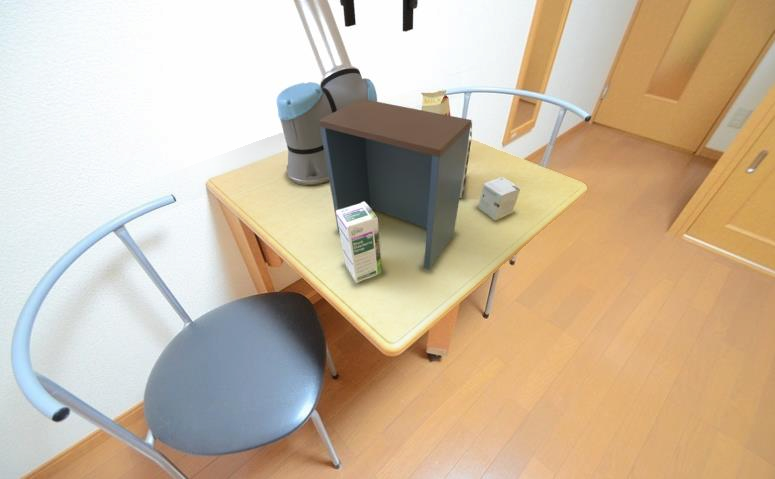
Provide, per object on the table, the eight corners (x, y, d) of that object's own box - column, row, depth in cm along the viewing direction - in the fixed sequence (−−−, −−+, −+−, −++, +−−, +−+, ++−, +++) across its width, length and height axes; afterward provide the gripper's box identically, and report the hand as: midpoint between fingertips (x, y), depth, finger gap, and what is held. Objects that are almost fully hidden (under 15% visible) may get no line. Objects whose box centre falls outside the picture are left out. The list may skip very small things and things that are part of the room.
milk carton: (451, 153, 100) (459, 86, 87) (438, 165, 95) (445, 96, 81) (425, 146, 104) (429, 81, 91) (412, 158, 98) (414, 90, 85)
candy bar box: (446, 175, 91) (452, 118, 80) (464, 176, 90) (473, 119, 79) (443, 197, 83) (450, 137, 71) (462, 199, 82) (472, 138, 71)
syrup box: (356, 284, 62) (347, 227, 52) (344, 265, 66) (335, 208, 56) (382, 273, 63) (378, 216, 54) (369, 255, 67) (364, 199, 58)
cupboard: (338, 232, 73) (318, 120, 56) (368, 204, 81) (360, 98, 64) (428, 270, 64) (440, 149, 46) (453, 234, 72) (471, 119, 54)
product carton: (477, 208, 79) (482, 183, 74) (495, 200, 81) (501, 175, 76) (495, 221, 75) (502, 195, 70) (513, 213, 77) (521, 187, 72)
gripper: (294, -130, 51) (317, 26, 65) (434, -156, 41) (425, 36, 55) (325, -124, 56) (340, 21, 70) (457, -146, 46) (443, 28, 60)
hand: (377, 28), depth 63 cm, fingers open, 13 cm apart
